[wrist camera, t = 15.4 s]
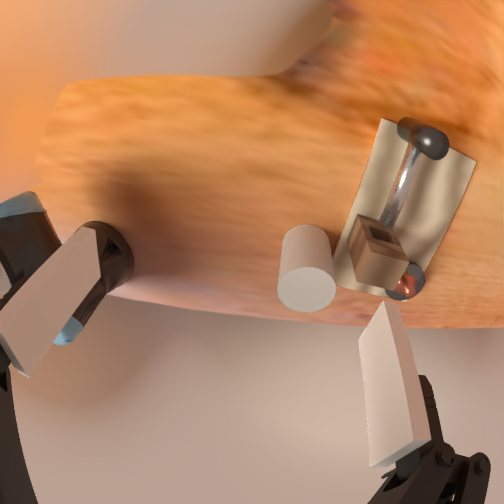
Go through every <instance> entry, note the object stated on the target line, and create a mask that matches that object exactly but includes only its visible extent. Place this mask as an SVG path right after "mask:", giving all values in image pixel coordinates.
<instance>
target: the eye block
mask: <svg viewBox="0 0 504 504" xmlns="http://www.w3.org/2000/svg"><path fill="white" fill-rule="evenodd" d="M407 146H408V143H407V142H406V141H404V140H403V139H401V138H400V136H399V135H398V133H397V124H396V123H393V122H391V121H388V120H386V119H383V118H381V122H380V125H379V128H378V131H377V134H376V138H375V141H374V144H373V147H372V150H371V153H370V156H369V159H368V162H367V165H366V168H365V171H364V174H363V177H362V179H361V182H360V185H359V188H358V191H357V193H356V196H355V199H354V202H353V204H352V207H351V210H350V212H349V215H348V218H347V220H346V223H345V225H344V228H343V231H342V233H341V236H340V238H339V241H338V243H337V246H336V248H335V251H334V253H333V256H332V261H333V268H334V275H335V283H336V286H339V287H343V288H347V289H352V290H356V291H360V292H365V293H369V294H373V295H378V296H382V297H386V298H390V297H389V296H388V295H387V294H386V292H385V289H388V290H392V291H394V289H395V288H396V286H397V284H398V282H399V281H400V279H401V277H402V275H403V274H404V272H405V270H406V268H407V266H408V264H409V263H410V262H413V263H416V264H418V265H419V266H420V267H421V269H422V271H423V273H424V272H425V270H426V268H427V266H428V265H429V263H430V261H431V259H432V257H433V255H434V254H435V252H436V250H437V248H438V246H439V244H440V242H441V240H442V238H443V236H444V235H445V233H446V231H447V229H448V226H449V224H450V222H451V220H452V218H453V216H454V214H455V212H456V210H457V207H458V205H459V203H460V201H461V199H462V196H463V194H464V192H465V189H466V187H467V185H468V182H469V180H470V177H471V175H472V172H473V170H474V167H475V164H476V161H474V160H473V159H471V158H469V157H467V156H465V155H463V154H461V153H460V152H458V151H456V150H454V149H452V148H450V147H449V150H448V153H447V155H446V156H445V157H444V158H443V159H441V160H432V159H430V158H429V157H427V156H426V155H425V154H423V157H422V159H421V162H420V165H419V167H418V170H417V173H416V175H415V178H414V180H413V183H412V186H411V188H410V191H409V193H408V195H407V198H406V200H405V203H404V205H403V207H402V210H401V212H400V214H399V217H398V219H397V221H396V223H395V226H394V228H388V227H386V226H384V225H382V224H381V223H380V222H379V219H380V217H381V214H382V212H383V209H384V207H385V205H386V202H387V200H388V197H389V195H390V192H391V189H392V187H393V184H394V182H395V179H396V176H397V174H398V171H399V168H400V166H401V163H402V160H403V157H404V154H405V152H406V149H407ZM407 300H408V299H407ZM407 300H401V301H404V302H406V301H407Z"/></svg>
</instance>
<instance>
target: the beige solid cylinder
mask: <svg viewBox="0 0 504 504" xmlns="http://www.w3.org/2000/svg"><path fill="white" fill-rule="evenodd" d="M277 293H278V297H279V299H280V301H281V302H282V303H283V304H284V305H285V306H286V307H288V308H289V309H291V310H294V311H297V312H303V313H310V312H315V311H319V310H321V309H323V308H325V307H326V306H328V305H329V304H330V303H331V302H332V300H333V299H334V297H335V294H336V283H335V275H334V268H333V261H332V254H331V247H330V241H329V238H328V236H327V234H326V233H325V232H324V231H323V230H322V229H321V228H319V227H317V226H315V225H310V224H302V225H298V226H295V227H293V228H292V229H290V230H289V231H288V232H287V233H286V234H285V236H284V238H283V242H282V251H281V260H280V269H279V278H278V287H277Z"/></svg>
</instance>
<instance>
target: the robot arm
mask: <svg viewBox="0 0 504 504" xmlns="http://www.w3.org/2000/svg"><path fill="white" fill-rule="evenodd" d="M46 212H47V211H46V209H44V208H43V206H42V204H41V202H40V200H39V198H38V196H37V194H36V193H34V192H32V191H27V192H24V193H21V194H19V195H17V196H14V197H12V198H10V199H8V200H6V201H4V202H2V203H0V293H1V294H5V295H4V296H3V299H0V504H38V502H37V499H36V496H35V493H34V490H33V487H32V484H31V481H30V478H29V474H28V470H27V467H26V463H25V459H24V456H23V451H22V447H21V443H20V438H19V433H18V428H17V423H16V417H15V410H14V403H13V396H12V387H11V376H10V370H9V367H8V366H9V365H10V363H12V364H13V366H14V367H15V369H16V370H17V371H18V372H20V373H21V374H23V375H24V376H26V377H28V378H30V377H31V376H32V374H33V372H34V371H35V369H36V367H37V366H38V364H39V363H40V361H41V359H42V358H43V356H44V355H45V354H46V352H47V350H48V349H49V347H50V346H51V344H52V343H54V344H58V345H68V344H70V343H72V342H73V341H74V340H75V338H76V337H77V336H78V335H79V333H80V332H81V331H82V330H83V327H84V326H85V324H86V323H87V321H88V320H89V318H90V317H91V315H92V314H93V312H94V311H95V309H96V308H97V306H98V305H99V303H100V302H101V301H102V299H103V298H104V296H105V295H106V294H107V293H109V292H111V291H112V290H114V289H115V288H116V287H119V286H121V285H122V284H124V283H125V282H126V280H127V279H128V278H129V276H130V275H131V273H132V271H133V266H134V261H133V255H132V252H131V250H130V248H129V246H128V244H127V242H126V241H125V240H124V238H123V237H122V236H121V235H120V234H119V233H118V232H117V231H116V230H114V229H113V228H112V227H110V226H108V225H106V224H104V223H101V222H94V221H93V222H87V223H85V224H83V225H82V226H81V227H80V228H78V229H77V230H76V231H75V233H74V234H73V235H72V236H71V237H70V238H69V239H68V240H67V241H66V242H65V243H64V244H63V245H62V243H61V241H60V239H59V238H58V236H57V234H56V232H55V230H54V228H53V226H52V224H51V222H50V219H49V217H48V215H47V213H46ZM358 344H359V351H360V359H361V367H362V374H363V384H364V392H365V403H366V414H367V426H368V441H369V459H370V468H371V467H372V468H374V467H387V466H389V465H391V464H393V463H395V462H396V468H395V469H393V470H391V471H390V472H388V473H386V474H384V475H383V476H382V477H381V478H382V479H384V478H386V477H388V478H387V479H386V481H385V482H384V483H383V484H382V486H381V487H380V488H379V490H378V491H377V492H376V494H375V495H374V496H373V497H372V499H371V500H370V501H369V502H368V504H484V502H485V497H486V492H487V487H488V482H489V476H490V470H491V469H490V468H491V464H490V461H489V459H488V457H487V456H486V455H485V454H483V453H480V452H479V453H476V454H474V455H473V456H471V457H465V456H462V455H458V454H455V451H454V449H453V448H452V447H451V446H450V445H449V444H447V443H445V442H444V440H443V436H442V431H441V426H440V421H439V416H438V411H437V408H436V403H435V399H434V394H433V390H432V386H431V384H430V383H429V381H428V379H427V378H426V376H424V375H418V373H417V369H416V365H415V361H414V357H413V354H412V350H411V346H410V343H409V339H408V336H407V333H406V329H405V326H404V322H403V319H402V316H401V313H400V310H399V307H398V304H397V303H395V302H390V301H386V300H383V301H382V303H381V304H380V306H379V308H378V309H377V311H376V313H375V314H374V316H373V318H372V319H371V321H370V322H369V324H368V325H367V327H366V329H365V330H364V332H363V333H362V335H361V336H360V338H359V339H358ZM453 495H455V496H454V499H453V501H452V498H453Z"/></svg>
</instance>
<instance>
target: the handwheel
mask: <svg viewBox="0 0 504 504" xmlns="http://www.w3.org/2000/svg"><path fill="white" fill-rule="evenodd" d="M424 283H425V275H424V273H423V271H422V269H421V267H420V266H419V265H418V264H416V263H413V262H410V263H409V264H408V266H407V268H406V270H405V272H404V274H403V275H402V277H401V279H400V281H399V282H398V284H397V286H396V288H395V289H394V291H392V290H388V289H385V292H386V294H387V295H388V296H389V297H390V298H391V299H394V300H399V301H401V300H407V299H410V298H413V297H414V296H415V295H417V294H418V293H419V292H420V291H421V289H422V288H423V286H424Z"/></svg>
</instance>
